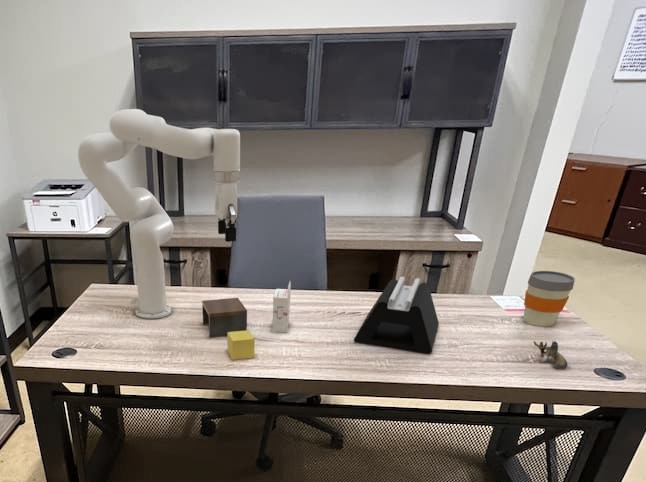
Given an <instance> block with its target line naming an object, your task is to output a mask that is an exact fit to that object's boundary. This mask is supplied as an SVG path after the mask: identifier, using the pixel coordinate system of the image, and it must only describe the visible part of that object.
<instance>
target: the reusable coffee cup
mask: <svg viewBox="0 0 646 482" xmlns="http://www.w3.org/2000/svg"><path fill="white" fill-rule="evenodd" d="M575 279H576V278H575V277H574V276H572V275H571V274H567V273H564V272H559V271H552V270H551V271H550V270H536V271H533V272H531V273H530V276H529V278H528V280H527V284H528V285H527V289H526V290H525V294H524V302H523V305H524V311H523V321H524V322H525V323H526V324H529V325H532V326H535V327H545V328H546V327H552V326H554V325H555V323H556V321H557V319H558V317H559V315H560V313H561V312H562V311H563V310H564V308H565V306H566V304H567V303H568V300H569V298H570V296H569V295H570V293H571V291H572V290H573V289H574V286H575Z"/></svg>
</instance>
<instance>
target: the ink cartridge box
mask: <svg viewBox="0 0 646 482" xmlns="http://www.w3.org/2000/svg"><path fill="white" fill-rule="evenodd" d="M291 281H292V280H289V282H288V286H287V288H275V291H274V293H273V297H272V327H271V328H272V330H271V331H272V333H288V329H289V323H290V322H289V321H290V311H291V310H290V309H291V308H290V307H291V295H292V293H291V292H292V286H291V285H292V282H291Z"/></svg>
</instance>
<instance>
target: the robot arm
mask: <svg viewBox="0 0 646 482" xmlns="http://www.w3.org/2000/svg"><path fill="white" fill-rule="evenodd" d="M109 130H110V131H106V132H98V133H92V134H89V135H88V136H85V137H84V138H82V140H81V141H80V144H79V146H78V152H77V157H78V163H79V167H80V170H81V171H82V173H83V174H84V176H85V177H86V178H87V180H88V181H89V182H90V183H91V184H92V185H93V187H94V188H95V189H96V190H97V192H98V193H99V194H100V196H101V197H102V199H103V200H104V201H105V202H106V204H107V205H108V207H109V208H110V209H111V210H112V212H113V213H114V214H115V215H116V217H117V218H118V219H119V220H120V221H121V222H124V223H129V222H133V221H136V220H139V221H137V222H136V223H134V225H132V227H131V229H130V233H129V238H130V240H129V241H130V244H131V247H132V251H133V256H134V257H133V258H134V265H135V275H136V284H137V285H136V286H137V296H138V297H136V296H133V297H132V298H131V301H130V304H131V305H132V306H133V305H135V306H136V308H135V309H134V313H135V315H136V316H137V317H139V318H141V319H148V320H149V319H151V320H152V319H153V320H154V319H160V318H164V317H168V316H169V315H170V314H171V313H172V307H171V306H170V305H169V304H167V290H166V275H165V273H166V272H165V263H164V262H165V261H164V256H163V253H162V251H161V246H162V245H164V244H166V243H167V242H169V241H170V240H172V238H173V236H174V234H175V226H174V224H173V221H172V219H171V217H170V216H169V214H168V213H167V212H166V211H165V209H164V208H163V206H162V205H161V204H160V202H159V201H158V200H157V198H156V197H155V196H154V194H152V192H151V191H150V190H148V189H146V188H144V187H142V186H135V187H129V185H128V184H127V183H126V182H125V181H124V179H123V178H122V176H121V175H120V174H119V173H118V172H117V171H116V170H114V168H112V167H111V166H109V165H108V163H111V162H116V161H120V160H122V159H124V158H125V157H127V156H128V155H129V154H130V153H131V152H133V150H134V149H136V147H138V146H142V147H146V148H149V149H150V148H151V149H154V150H157V151H159V152H161V153H163V154H165V155H169V156H172V157H177V158H182V159H186V160H198V159H199V160H200V159H202V158H206V157H210V156H213V183H214V184H215V195H214V215H215V216H216V217H217V219H218V220H217V233H218V235H224V240H225V242H226V243H230V242H236V241H237V220H236V219H237V218H238V185H237V184H240V182H241V133H240V131H239V129H235V128H219V129H218V128H214V127H213V128H212V127H197V128H192V129H191V128H190V129H189V128H185V127H178V126H174V125H171V124H167V121H166V120H165V119H164V118H163V117H161V116H158V115H152V114H147V112H145V111H144V110H142V109H141V108H140V109H139V108H126V109H120V110H117V111H115V112H114V113H113V114H112V116H111V117H110V120H109Z"/></svg>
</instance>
